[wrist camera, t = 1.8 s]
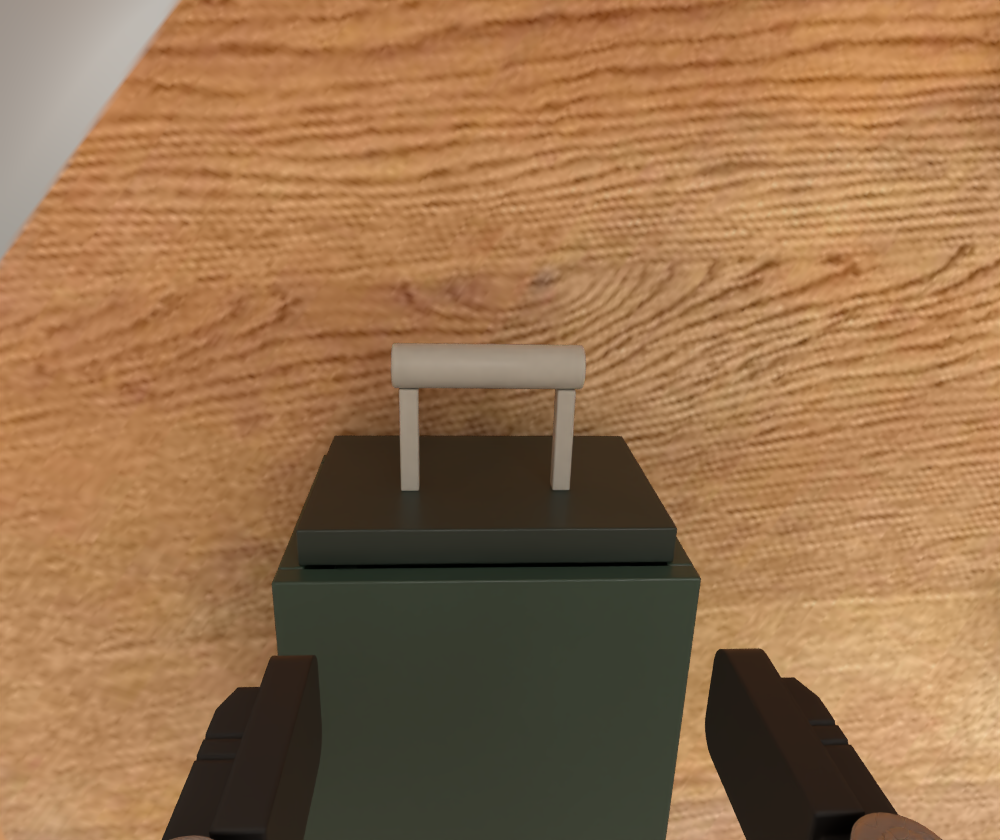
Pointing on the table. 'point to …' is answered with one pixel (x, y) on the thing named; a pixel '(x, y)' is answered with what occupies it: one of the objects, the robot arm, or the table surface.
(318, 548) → the drawer
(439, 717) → the cabinet
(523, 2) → the table surface
